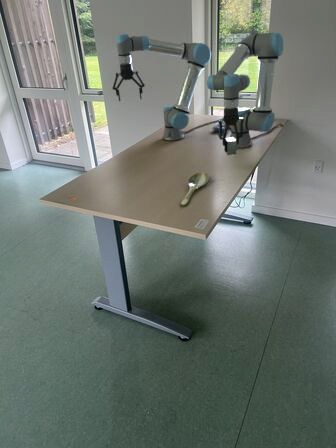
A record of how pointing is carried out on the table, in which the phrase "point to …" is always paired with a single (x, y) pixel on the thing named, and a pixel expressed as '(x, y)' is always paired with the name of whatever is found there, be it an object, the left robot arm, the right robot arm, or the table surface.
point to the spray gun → (216, 127)
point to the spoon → (195, 184)
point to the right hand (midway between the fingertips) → (230, 150)
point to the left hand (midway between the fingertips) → (130, 99)
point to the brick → (231, 146)
